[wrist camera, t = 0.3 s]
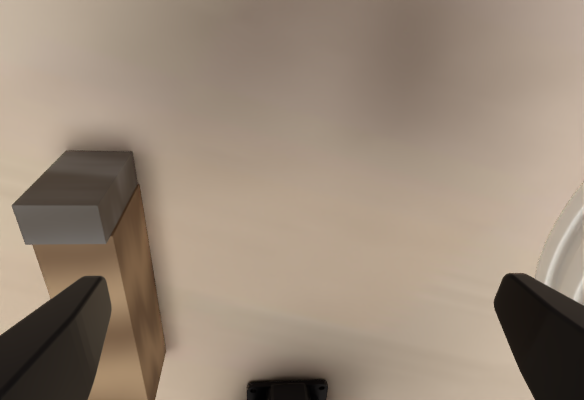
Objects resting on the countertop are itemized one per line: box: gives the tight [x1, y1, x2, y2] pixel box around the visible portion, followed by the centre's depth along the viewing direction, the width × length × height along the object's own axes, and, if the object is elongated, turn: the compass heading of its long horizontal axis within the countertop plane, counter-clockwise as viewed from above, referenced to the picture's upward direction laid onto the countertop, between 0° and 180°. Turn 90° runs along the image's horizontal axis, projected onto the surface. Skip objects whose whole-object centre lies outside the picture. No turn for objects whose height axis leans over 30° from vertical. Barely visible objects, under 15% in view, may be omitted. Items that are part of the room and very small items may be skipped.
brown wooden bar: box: [12, 151, 166, 400], centre depth 23 cm, size 16×4×6 cm, turn 177°
